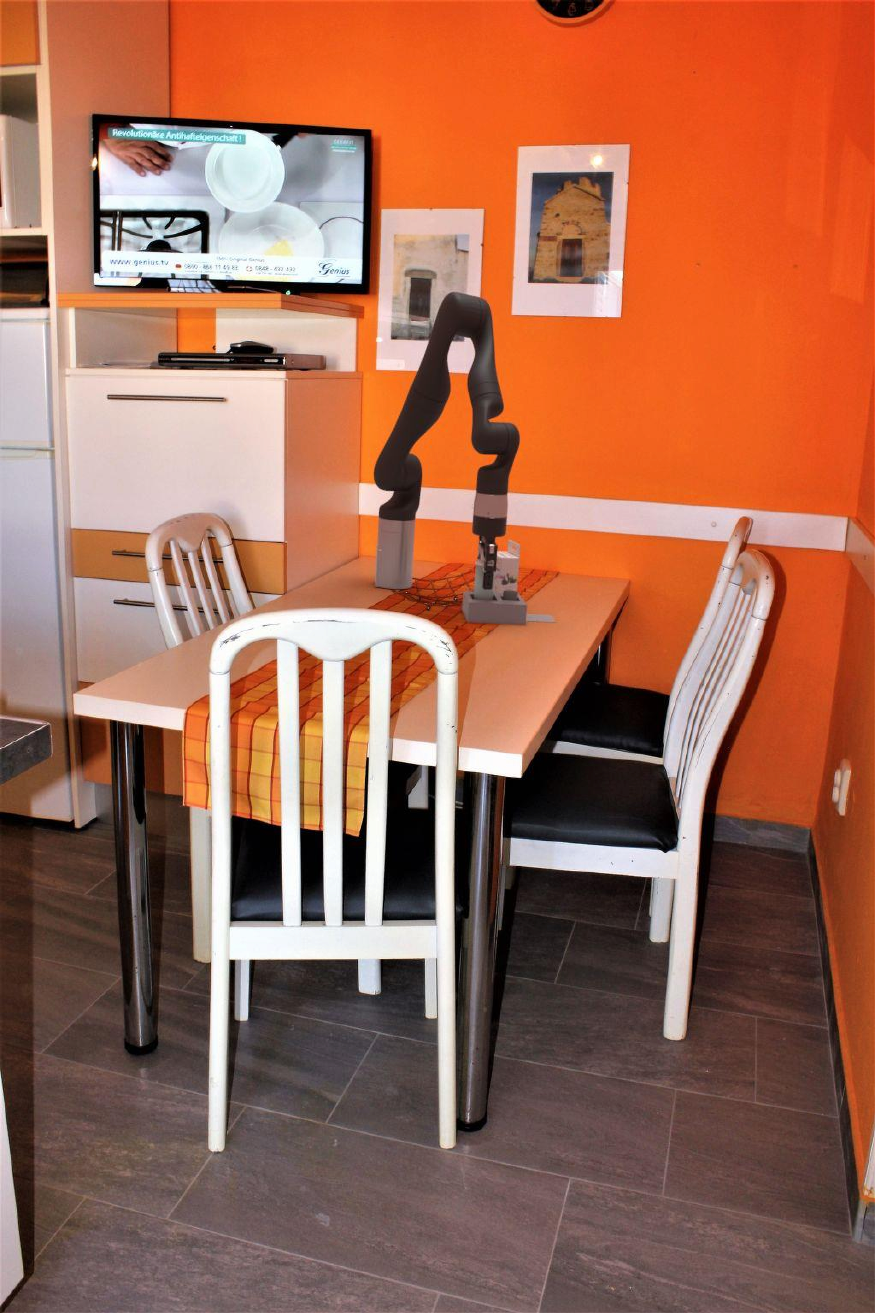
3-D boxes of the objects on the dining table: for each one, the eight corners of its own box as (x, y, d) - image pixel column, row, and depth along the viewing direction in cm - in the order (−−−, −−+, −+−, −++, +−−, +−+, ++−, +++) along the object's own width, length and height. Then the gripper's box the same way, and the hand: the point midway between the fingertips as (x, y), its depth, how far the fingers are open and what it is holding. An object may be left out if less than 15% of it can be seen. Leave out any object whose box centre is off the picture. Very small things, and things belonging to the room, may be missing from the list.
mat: (525, 623, 252) (525, 620, 252) (520, 616, 259) (520, 613, 259) (555, 624, 253) (555, 622, 253) (550, 617, 260) (550, 615, 260)
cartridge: (472, 618, 251) (476, 562, 248) (470, 613, 256) (474, 558, 253) (493, 619, 252) (498, 563, 248) (491, 614, 256) (495, 559, 253)
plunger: (502, 616, 252) (504, 592, 251) (500, 613, 256) (502, 589, 254) (516, 617, 253) (518, 593, 251) (514, 614, 256) (516, 590, 254)
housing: (467, 624, 248) (469, 602, 246) (462, 612, 259) (463, 590, 258) (525, 626, 249) (527, 605, 248) (517, 614, 260) (519, 593, 259)
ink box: (485, 597, 277) (490, 538, 273) (504, 597, 278) (509, 538, 275) (497, 605, 269) (502, 544, 265) (516, 605, 271) (521, 544, 267)
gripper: (469, 508, 254) (465, 578, 258) (477, 517, 240) (471, 591, 245) (502, 510, 255) (497, 580, 259) (511, 519, 241) (505, 592, 245)
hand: (485, 585), depth 252 cm, fingers open, 8 cm apart
